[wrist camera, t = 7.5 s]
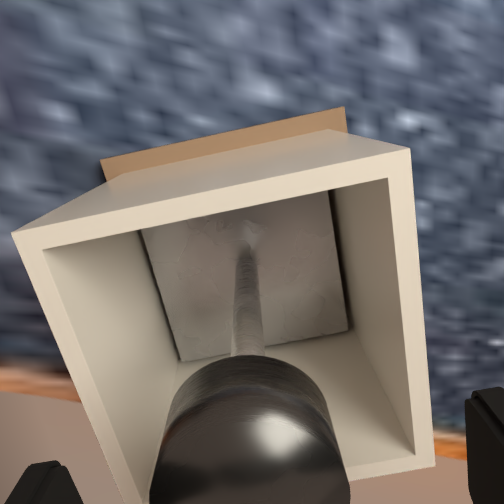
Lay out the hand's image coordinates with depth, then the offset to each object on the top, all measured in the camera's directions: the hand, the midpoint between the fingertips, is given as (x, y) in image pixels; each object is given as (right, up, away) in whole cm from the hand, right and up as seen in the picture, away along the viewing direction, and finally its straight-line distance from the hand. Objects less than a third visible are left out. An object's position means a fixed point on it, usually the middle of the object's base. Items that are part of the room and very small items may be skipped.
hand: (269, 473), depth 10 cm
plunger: (-1, +4, +13) cm, 14 cm away
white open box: (-1, +6, +17) cm, 18 cm away
